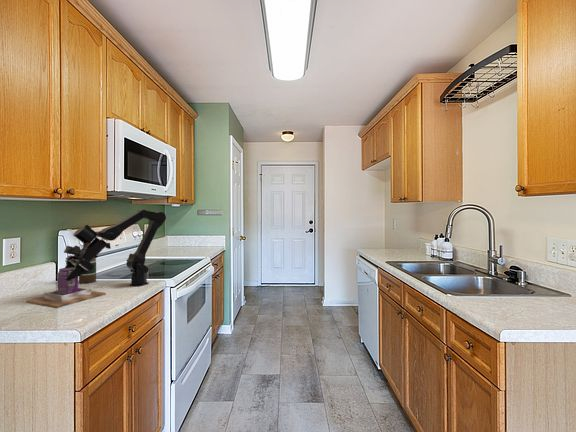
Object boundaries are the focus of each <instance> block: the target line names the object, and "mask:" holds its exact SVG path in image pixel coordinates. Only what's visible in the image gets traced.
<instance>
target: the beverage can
mask: <svg viewBox="0 0 576 432" xmlns="http://www.w3.org/2000/svg"><path fill="white" fill-rule="evenodd" d="M74 268H75V267H71V268H65V267H63V268H59V269H58V273H57V290H58V295H67V294H71V293H75V292H78V287H79V276H78V277H76V278H74V279H72V280H70V281H67V280H66V279H67V277H68V276H69V275H70V273H71V272H72V271H73V270H74Z"/></svg>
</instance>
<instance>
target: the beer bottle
mask: <svg viewBox="0 0 576 432" xmlns="http://www.w3.org/2000/svg"><path fill="white" fill-rule="evenodd" d="M90 243H91V242H90ZM90 243H85V244H84V243H82V248H86V247H87V246H88V245H89V244H90ZM90 263H92V264H93V265H94V269H93V270H92V271H91V272H90V271H88V270H87V271H88V273H85V274H83V275H80V276H78V284H81V285H82V284H83V285H87V284H93V283H95V282H97V258H94V259H93V260H92V261H91V262H90Z"/></svg>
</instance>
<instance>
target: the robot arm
mask: <svg viewBox="0 0 576 432" xmlns="http://www.w3.org/2000/svg"><path fill="white" fill-rule="evenodd" d="M143 219H145V220H148V226H147V228H146V231H145V233H144V235H143V236H142V238H141V240H140V243H139V244H138V247H137V248H136V250H135V252H134V253H129V254H128V258H127V259H126V260H125V261H126V267H127V268H128V269H129V270H130V272H131V276H130V277H131V280H130V283H129V286H133V287H141V286H144V285H148V284H149V283H150V282H148V281H147V273H149V270H150V269H149V267H147V266H146V265H145V263H146V254H147V252H148V250H149V248H150V245H151V243H152V242H153V239H154V238H155V235H156V233H157V231H158V229H160V227H162V226H163V225H164V223H165V222H166V219H167V216H166V213H165V212H162V211H150V210H146V209H138V210H137V211H136V212H135V213H133V214H131V215H129V216H127V217H126V218H125V219H122V220H121V221H120V222H117V223H116V224H112V225H109V226H107V227H105V228H102V229H101V230H99V231H96V230H95V231H94V230H93V228H91V226H89V224H85V225H83V226H82V227H80V228H78V229H77V230H75V232H74V233H73V234H72V235H73V236H74V237H75V238H76V239H77V240H79V241H80V242H81V243H82V244H83V243H84V244H85V243H90V242H91V243H90V244H89V245H88V246H87V247H86V248H83V247H80V246H79V245H74V246H70V245H66V247H65V249H64V250H63V253H64V254H68V256H67V257H65V267H64V268H71V267H75V268H74V270H73V271H72V272H71V273H70V275H69V276H68V277H67V279H66V280H67V281H70V280H72V279H74V278H76V277H78V278H79V276H80V275H83V274H85V273H88V271H90V272H91V271H92V270H93V269H94V265H93V264H92V263H90V262H91V261H92V260H93V259H94V258H96V259H97V258H98V255H99V254H100V253H101V252H102V251H103V250H104V249H107V250H109V249H110V250H111V249H112V248H111V243H110V242H111V241H114V240H116V239H117V238H119V236H121V234H122V233H123V232H124V231H125V230H127V229H128V228H130V227H132V226H133V225H134V224H136V223H138V222H139V221H141V220H143ZM99 238H100V239H99ZM107 241H110V242H107ZM87 270H88V271H87Z"/></svg>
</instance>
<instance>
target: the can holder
mask: <svg viewBox="0 0 576 432" xmlns="http://www.w3.org/2000/svg"><path fill="white" fill-rule="evenodd" d="M105 295H107V292H104V291H103V292H102V291H96V290H92V289H91V288H86V287H85V288H84V287H79V286H78V292H75V293H71V294H67V295H58V289H56V290H53V291H47V292H44V293H43V295H42V296H39V297H35V298H30V299H26V301H25V302H26V303H29V304H33V305H40V306H46V307H50V308H55V309H58V308H62V307H66V306H70V305H73V304H76V303H77V304H78V303H80V302H83V301H84V302H85V301H87V300H90V299H94V298H99V297H102V296H105Z"/></svg>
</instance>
